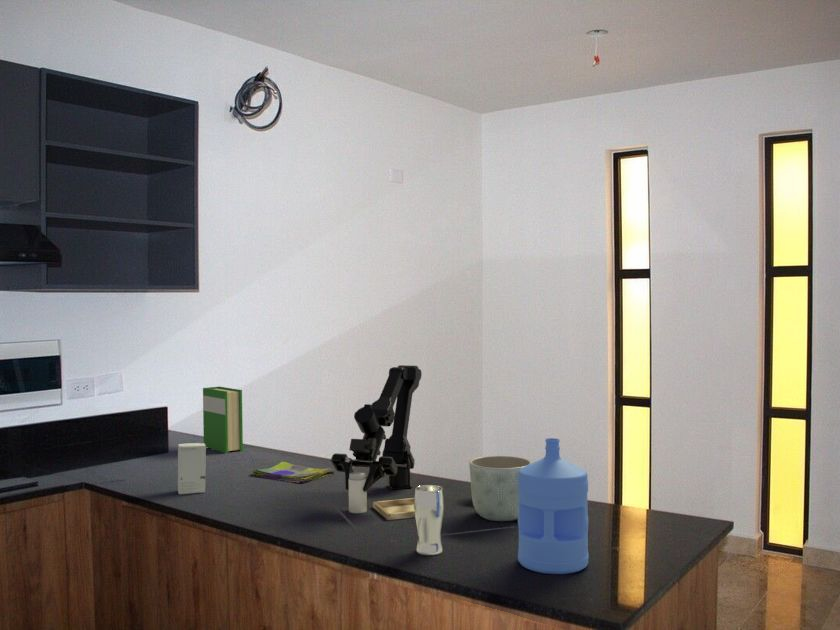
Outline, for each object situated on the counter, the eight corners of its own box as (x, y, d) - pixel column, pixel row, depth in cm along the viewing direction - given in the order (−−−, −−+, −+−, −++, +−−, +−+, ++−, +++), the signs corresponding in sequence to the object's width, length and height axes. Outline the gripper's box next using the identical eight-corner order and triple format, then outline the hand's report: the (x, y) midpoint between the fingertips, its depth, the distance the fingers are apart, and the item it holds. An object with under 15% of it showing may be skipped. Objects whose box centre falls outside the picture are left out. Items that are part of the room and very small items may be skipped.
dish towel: (285, 467, 286) (285, 459, 286) (337, 475, 273) (337, 467, 273) (249, 476, 272) (249, 468, 272) (302, 485, 258) (302, 477, 258)
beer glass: (413, 547, 193) (413, 485, 193) (442, 546, 194) (442, 484, 193) (415, 556, 186) (415, 492, 186) (445, 555, 187) (445, 491, 186)
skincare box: (178, 495, 246) (177, 446, 245) (177, 490, 251) (176, 443, 251) (206, 492, 248) (205, 444, 248) (205, 488, 254) (204, 441, 254)
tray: (419, 504, 232) (419, 497, 232) (436, 516, 219) (436, 509, 219) (373, 508, 228) (372, 501, 228) (387, 521, 215) (387, 514, 214)
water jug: (524, 550, 190) (523, 432, 189) (591, 555, 186) (591, 435, 185) (512, 571, 175) (511, 444, 175) (585, 578, 171) (584, 447, 170)
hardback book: (242, 451, 315) (241, 389, 314) (225, 453, 310) (224, 391, 309) (220, 445, 328) (219, 386, 327) (203, 447, 323) (202, 388, 322)
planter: (521, 507, 228) (521, 454, 227) (540, 524, 211) (540, 467, 211) (463, 511, 225) (463, 457, 224) (478, 528, 208) (477, 469, 208)
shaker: (364, 509, 227) (363, 470, 227) (368, 513, 223) (368, 474, 222) (346, 511, 226) (346, 472, 225) (351, 515, 221) (351, 475, 221)
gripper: (333, 425, 231) (315, 471, 221) (393, 428, 224) (377, 476, 214) (345, 447, 238) (329, 493, 228) (404, 451, 232) (389, 498, 222)
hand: (355, 490), depth 223 cm, fingers closed on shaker, 5 cm apart
